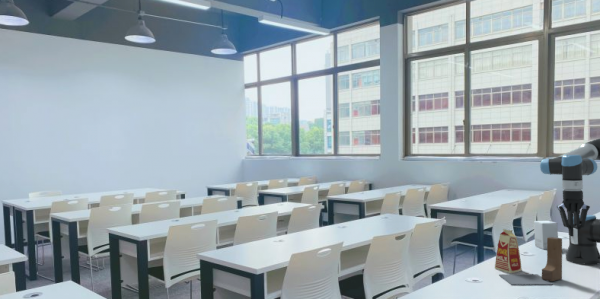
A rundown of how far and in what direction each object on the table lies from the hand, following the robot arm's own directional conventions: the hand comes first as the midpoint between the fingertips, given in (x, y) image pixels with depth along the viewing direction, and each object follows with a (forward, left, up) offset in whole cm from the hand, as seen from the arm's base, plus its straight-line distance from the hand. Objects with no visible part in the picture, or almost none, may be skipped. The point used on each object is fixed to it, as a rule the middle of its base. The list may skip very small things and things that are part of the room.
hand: (574, 243), depth 185 cm
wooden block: (+10, 0, -16) cm, 19 cm away
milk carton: (+22, -17, -16) cm, 32 cm away
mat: (+21, 0, -16) cm, 27 cm away
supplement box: (-16, -61, -16) cm, 65 cm away
